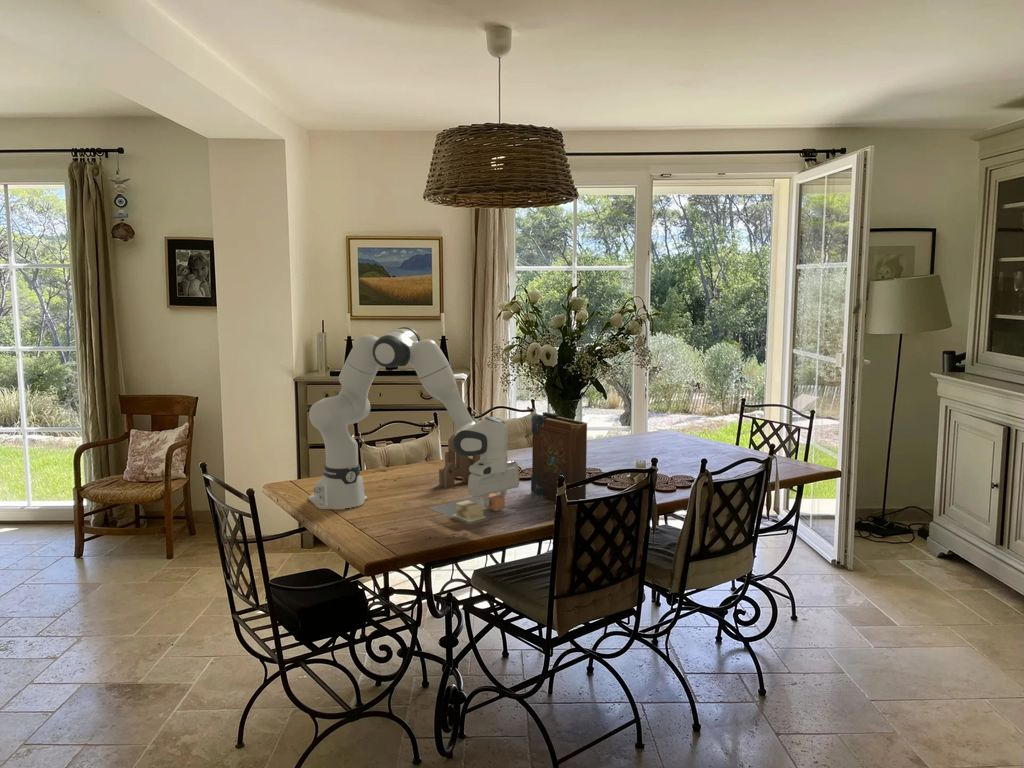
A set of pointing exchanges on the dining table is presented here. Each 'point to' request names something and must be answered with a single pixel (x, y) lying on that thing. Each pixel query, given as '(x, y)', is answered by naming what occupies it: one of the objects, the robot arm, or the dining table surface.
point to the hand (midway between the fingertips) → (494, 504)
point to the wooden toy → (461, 466)
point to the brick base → (469, 510)
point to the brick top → (496, 502)
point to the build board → (450, 511)
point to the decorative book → (558, 455)
